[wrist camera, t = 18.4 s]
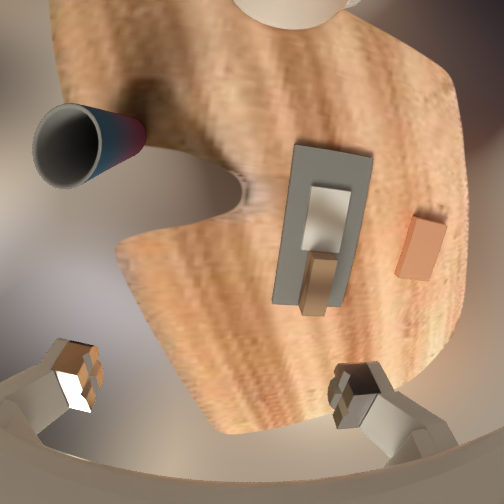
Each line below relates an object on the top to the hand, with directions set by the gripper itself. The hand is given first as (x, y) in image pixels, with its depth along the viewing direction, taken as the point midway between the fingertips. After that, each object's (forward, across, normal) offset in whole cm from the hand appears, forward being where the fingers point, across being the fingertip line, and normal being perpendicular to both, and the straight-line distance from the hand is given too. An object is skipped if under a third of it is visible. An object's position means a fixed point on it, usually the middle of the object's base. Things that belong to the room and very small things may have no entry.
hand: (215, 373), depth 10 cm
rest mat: (+29, -12, +4) cm, 32 cm away
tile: (+29, -28, +9) cm, 41 cm away
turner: (+28, -12, +6) cm, 31 cm away
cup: (+29, +13, -6) cm, 33 cm away
